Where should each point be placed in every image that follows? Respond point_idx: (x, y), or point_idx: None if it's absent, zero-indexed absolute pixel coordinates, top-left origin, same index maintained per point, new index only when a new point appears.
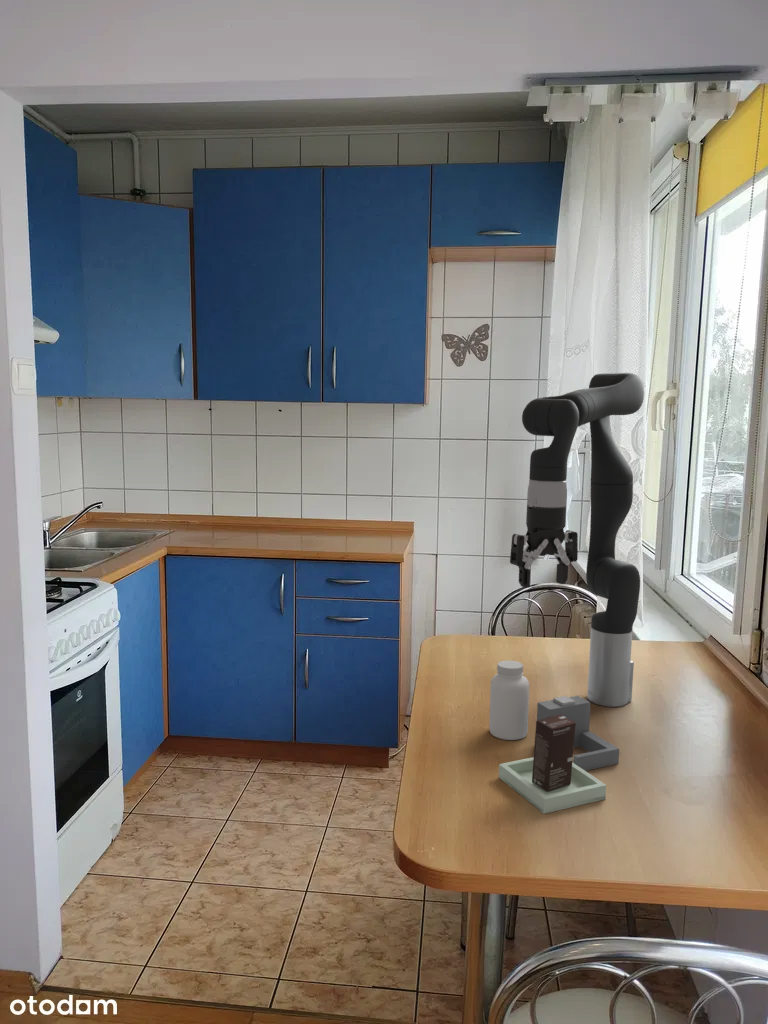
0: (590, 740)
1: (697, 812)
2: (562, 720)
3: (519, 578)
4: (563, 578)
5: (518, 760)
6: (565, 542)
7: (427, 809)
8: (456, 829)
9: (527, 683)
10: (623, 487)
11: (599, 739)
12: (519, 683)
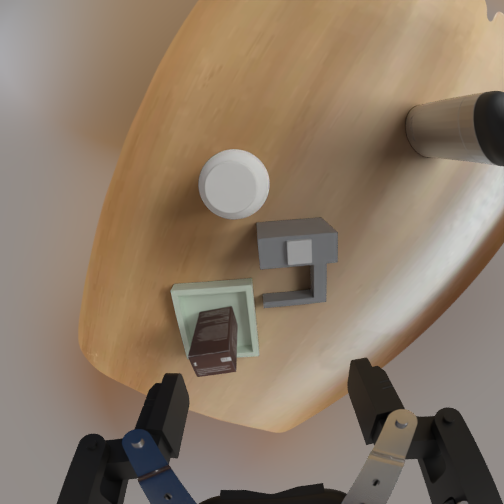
0: (313, 267)
1: (319, 377)
2: (221, 365)
3: (148, 401)
4: (354, 404)
5: (195, 289)
6: (460, 486)
7: (97, 312)
8: (114, 343)
9: (256, 210)
10: None
11: (321, 274)
12: (236, 215)
